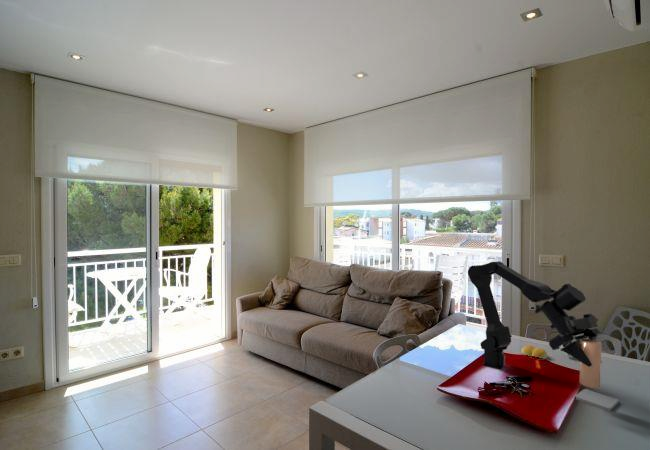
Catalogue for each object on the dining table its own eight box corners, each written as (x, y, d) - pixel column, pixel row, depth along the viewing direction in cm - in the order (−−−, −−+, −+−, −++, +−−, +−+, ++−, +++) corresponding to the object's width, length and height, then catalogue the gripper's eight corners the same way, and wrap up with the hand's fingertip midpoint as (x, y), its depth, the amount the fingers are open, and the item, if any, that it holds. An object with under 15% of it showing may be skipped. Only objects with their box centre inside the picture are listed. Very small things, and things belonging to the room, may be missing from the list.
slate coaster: (574, 398, 112) (574, 396, 112) (584, 390, 117) (584, 388, 117) (609, 411, 105) (609, 408, 104) (618, 402, 110) (618, 399, 110)
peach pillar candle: (580, 385, 106) (581, 342, 106) (578, 379, 110) (580, 337, 110) (601, 389, 104) (602, 346, 103) (598, 383, 108) (600, 341, 108)
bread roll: (543, 361, 142) (543, 352, 142) (519, 355, 149) (519, 345, 149) (550, 357, 147) (550, 347, 147) (526, 350, 154) (527, 341, 154)
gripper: (560, 307, 106) (601, 357, 96) (595, 302, 114) (635, 347, 105) (534, 326, 113) (569, 374, 104) (568, 320, 121) (603, 364, 112)
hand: (595, 364), depth 106 cm, fingers closed on peach pillar candle, 5 cm apart
